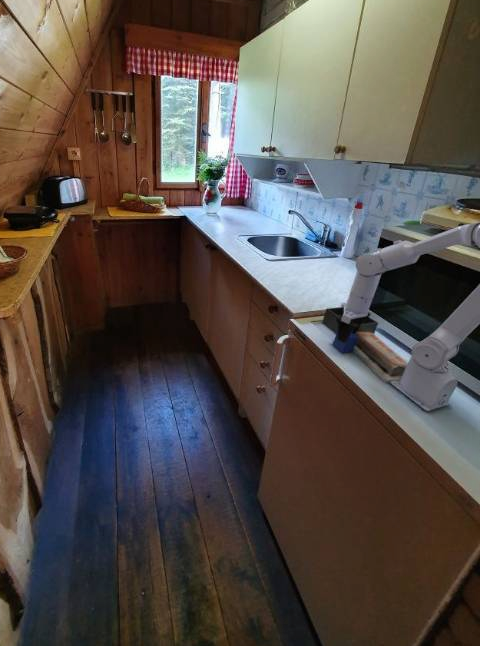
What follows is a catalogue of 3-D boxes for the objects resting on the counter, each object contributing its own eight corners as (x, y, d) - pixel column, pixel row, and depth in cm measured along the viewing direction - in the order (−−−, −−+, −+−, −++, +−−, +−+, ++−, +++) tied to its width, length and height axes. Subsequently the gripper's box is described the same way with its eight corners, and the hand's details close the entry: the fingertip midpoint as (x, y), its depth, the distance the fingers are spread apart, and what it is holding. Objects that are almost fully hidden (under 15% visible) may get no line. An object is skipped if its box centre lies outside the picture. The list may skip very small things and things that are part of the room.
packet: (352, 351, 90) (358, 337, 88) (342, 353, 88) (347, 338, 86) (342, 343, 93) (347, 329, 91) (332, 345, 92) (337, 330, 90)
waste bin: (372, 337, 98) (378, 322, 96) (347, 341, 94) (352, 326, 92) (346, 319, 108) (351, 305, 106) (322, 322, 104) (326, 308, 102)
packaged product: (347, 329, 93) (376, 329, 94) (342, 342, 94) (370, 342, 96) (391, 369, 76) (425, 369, 78) (384, 385, 78) (417, 384, 80)
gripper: (355, 283, 91) (342, 322, 96) (336, 295, 82) (322, 338, 87) (381, 292, 87) (365, 333, 92) (364, 306, 77) (348, 350, 82)
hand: (346, 336), depth 89 cm, fingers open, 7 cm apart
